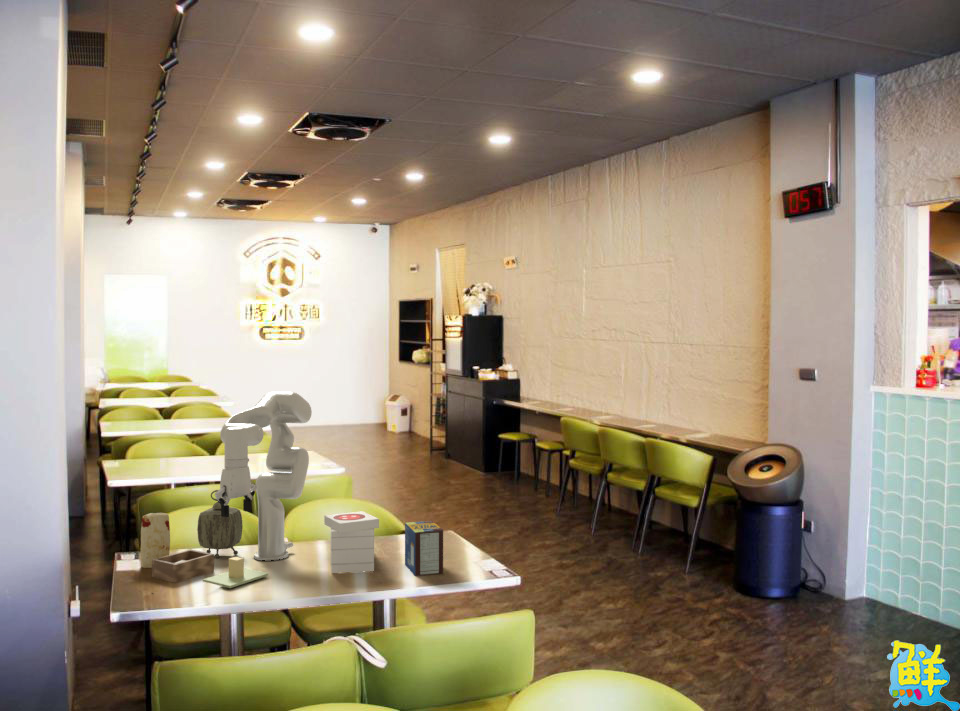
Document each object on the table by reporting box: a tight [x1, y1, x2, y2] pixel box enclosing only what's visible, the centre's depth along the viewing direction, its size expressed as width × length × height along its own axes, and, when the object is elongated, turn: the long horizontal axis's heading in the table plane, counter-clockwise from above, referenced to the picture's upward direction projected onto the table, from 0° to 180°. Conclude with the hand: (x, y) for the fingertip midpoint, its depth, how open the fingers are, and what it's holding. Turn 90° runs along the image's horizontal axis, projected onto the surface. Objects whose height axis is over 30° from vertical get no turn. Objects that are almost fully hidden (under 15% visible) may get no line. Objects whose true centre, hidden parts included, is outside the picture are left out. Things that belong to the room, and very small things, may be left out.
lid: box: [202, 556, 269, 589], centre depth 279 cm, size 17×13×8 cm
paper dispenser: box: [323, 510, 380, 574], centre depth 301 cm, size 19×30×18 cm, turn 11°
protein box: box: [404, 520, 444, 577], centre depth 294 cm, size 10×15×16 cm
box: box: [151, 549, 215, 584], centre depth 282 cm, size 16×12×7 cm
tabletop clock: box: [196, 489, 243, 559], centre depth 308 cm, size 14×9×25 cm, turn 84°
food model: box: [140, 512, 171, 569], centre depth 292 cm, size 10×7×20 cm
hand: (236, 513), depth 278 cm, fingers open, 9 cm apart
